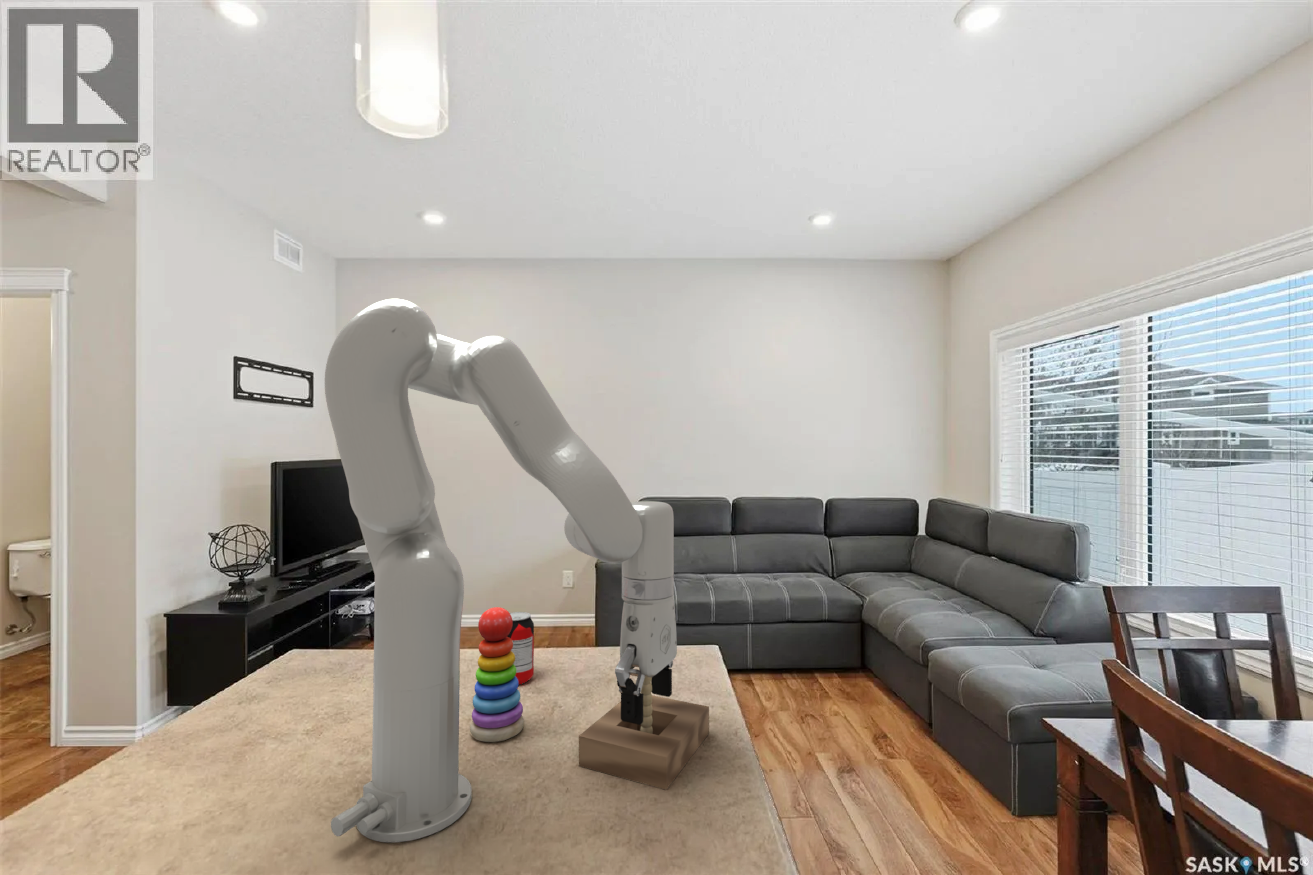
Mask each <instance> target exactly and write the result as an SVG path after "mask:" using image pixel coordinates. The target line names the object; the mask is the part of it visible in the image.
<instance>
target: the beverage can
mask: <svg viewBox="0 0 1313 875" xmlns="http://www.w3.org/2000/svg"><path fill="white" fill-rule="evenodd" d="M509 613H510V615H511V617H512V620H513V626H512V629H511V631H510V633H509V635H508V636H507V637H509V638H510V639H511V640H512V641H513V648H512V650H511V651H512V652H513V653H514V655H515V662H514V663H513V664H514V665H515V667H516V675H515V676H516V677H517V679H518V682H519V684H521V685H523V684H522V683H524V684H526V683H527V681H528V680H529V681H530V680H531V679H532V678H533V676H534V669H535V668H534V666H535V665H534V664H535V662H534V661H535V658H534V657H535V654H534V653H535V652H534V651H535V641H534V640H535V624H534V622H533V620H532V618H531V614H530V613H529V612H525V611H515V612H509ZM529 681H528V682H529ZM525 682H526V683H525Z"/></svg>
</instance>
